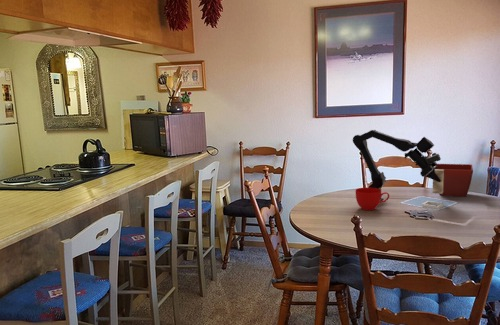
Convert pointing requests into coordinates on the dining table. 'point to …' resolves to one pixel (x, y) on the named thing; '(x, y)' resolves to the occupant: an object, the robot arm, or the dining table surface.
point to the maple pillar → (437, 185)
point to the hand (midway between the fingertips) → (441, 180)
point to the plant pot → (456, 179)
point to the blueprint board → (421, 199)
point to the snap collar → (433, 205)
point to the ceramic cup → (369, 198)
